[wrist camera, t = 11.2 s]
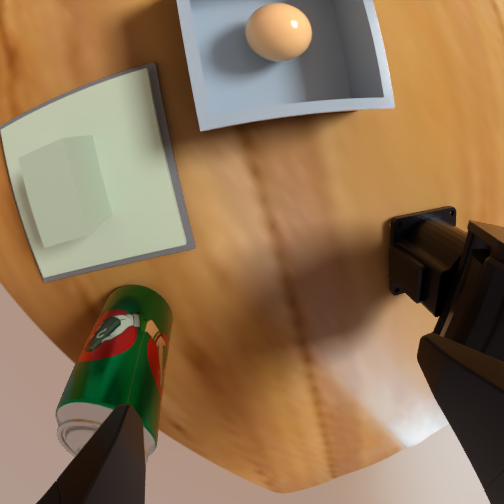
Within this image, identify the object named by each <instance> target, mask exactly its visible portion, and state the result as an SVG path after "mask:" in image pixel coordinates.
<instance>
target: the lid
mask: <svg viewBox="0 0 504 504" xmlns="http://www.w3.org/2000/svg"><path fill="white" fill-rule="evenodd" d="M1 136H2V142H3V147H4V152H5V157H6V162H7V166H8V171H9V175H10V179H11V183H12V187H13V191H14V194H15V198H16V201H17V205H18V208H19V212H20V215H21V218H22V221H23V224H24V227H25V230H26V233H27V236H28V239H29V242H30V245H31V247H32V250H33V253H34V255H35V258H36V260H37V263H38V265H39V268H40V270H41V273H42V275H43V278H45V277H49V276H53V275H57V274H62V273H66V272H70V271H74V270H78V269H82V268H86V267H91V266H95V265H99V264H103V263H107V262H112V261H116V260H120V259H125V258H129V257H133V256H138V255H142V254H146V253H151V252H155V251H160V250H164V249H169V248H173V247H178V246H182V245H186V242H187V241H186V237H185V233H184V229H183V225H182V222H181V218H180V214H179V210H178V206H177V202H176V198H175V193H174V189H173V185H172V181H171V177H170V172H169V168H168V164H167V159H166V155H165V150H164V145H163V141H162V136H161V131H160V127H159V122H158V117H157V112H156V107H155V101H154V96H153V91H152V85H151V80H150V74H149V70H148V69H147V68H145V69H141V70H138V71H135V72H131V73H128V74H125V75H122V76H119V77H116V78H113V79H110V80H107V81H104V82H102V83H99V84H96V85H94V86H91V87H88V88H86V89H83V90H81V91H78V92H76V93H74V94H71V95H69V96H66V97H64V98H62V99H60V100H57V101H55V102H53V103H51V104H49V105H47V106H45V107H42V108H40V109H38V110H36V111H34V112H32V113H30V114H28V115H26V116H25V117H23V118H21V119H19V120H17V121H15V122H13V123H12V124H10V125H8V126H6V127H5V128H3V129H1Z"/></svg>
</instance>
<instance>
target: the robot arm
mask: <svg viewBox="0 0 504 504" xmlns="http://www.w3.org/2000/svg"><path fill="white" fill-rule="evenodd" d="M450 212H451V214H450ZM397 222H399V225H398V226H396V224H397ZM455 226H456V209H455V208H454V207H452V206H447V207H442V208H437V209H432V210H427V211H422V212H417V213H412V214H407V215H402V216H397V217H395V218H393V219H392V221H391V247H390V249H389V278H390V288H389V290H390V292H391V293H392V294H393V295H399V294H402V293H406V294H407V295H408V296H409V297H410V298H411V299H412V300H413V301H414V302H416V303H417V304H418V303H421V304H423V305H424V306H425V307H426V308H427V309H428V310H429V311H430V312H431V313H432V314H433V315H434V316H435V317H438V316H439V319H438V321H437V324H436V326H435V328H434V331H433V332H432V333H429V334H427V335H424V336H422V337H421V339H420V343H419V348H418V353H417V360H418V363H419V365H420V367H421V369H422V371H423V374H424V376H425V378H426V380H427V382H428V384H429V387H430V389H431V391H432V393H433V395H434V397H435V399H436V401H437V403H438V405H439V406H440V408H441V410H442V411H443V413H444V415H445V417H446V418H447V420H448V422H449V424H450V425H451V427H452V429H453V430H454V432H455V434H456V436H457V438H458V440H459V441H460V443H461V445H462V447H463V448H464V451H465V453H466V455H467V456H468V458H469V460H470V462H471V464H472V466H473V468H474V470H475V472H476V474H477V476H478V478H479V480H480V482H481V484H482V486H483V488H484V489H485V490H484V491H485V492H486V495H487V497H488V499H489V501H490V503H491V504H504V227H500V226H495V225H491V224H486V223H481V222H476V221H471V220H469V224H468V227H467V229H468V233H466V232H464V231H463V230H461V229H459V228H457V227H455ZM395 288H397V289H396V290H395ZM145 472H146V465H145V449H144V430H143V422H142V420H141V418H140V417H139V415H138V414H137V412H136V411H135V409H134V408H133V406H132V405H131V404H119V405H117V406H116V407H115V408H114V410H113V411H112V412H111V413H110V415H109V416H108V417H107V418H106V419H105V421H104V422H103V423H102V424H101V426H100V427H99V428H98V429H97V431H96V432H95V433H94V434H93V435H92V437H91V438H90V439H89V440H88V442H87V443H86V444H85V445H84V447H83V448H82V449H81V450H80V451H79V453H78V454H77V455H76V456H75V458H74V459H73V460H72V461H71V463H70V464H69V465H68V466H67V468H66V469H65V470H64V471H63V473H62V474H61V475H60V476H59V478H58V479H57V481H55V483H54V484H53V485H52V486H51V487H50V489H49V490H48V491H47V492H46V493H45V495H44V496H43V497H42V498H41V499H40V500H39V501H38V502H37V503H36V504H145Z"/></svg>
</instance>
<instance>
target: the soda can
mask: <svg viewBox="0 0 504 504" xmlns="http://www.w3.org/2000/svg"><path fill="white" fill-rule="evenodd" d="M172 319H173V318H172V312H171V309H170V307H169V305H168V304H167V302H166V301H165V300H164V299H163V298H162V297H161V296H160V295H159V294H158V293H157V292H155V291H153V290H151V289H149V288H147V287H143V286H139V285H127V286H123V287H120V288H118V289H116V290H115V291H114V292H112V293H111V294H110V296H109V297H108V299H107V301H106V303H105V305H104V307H103V308H102V310H101V312H100V314H99V316H98V318H97V320H96V322H95V324H94V326H93V328H92V330H91V332H90V334H89V336H88V338H87V341H86V343H85V345H84V347H83V349H82V351H81V353H80V355H79V358H78V360H77V362H76V364H75V366H74V369H73V371H72V373H71V375H70V378H69V380H68V383H67V385H66V387H65V390H64V392H63V394H62V397H61V399H60V402H59V404H58V407H57V410H56V419H57V423H58V426H59V427H58V429H57V437H58V440H59V442H60V443H61V445H62V446H63V447H64V448H65V449H66V450H67V451H68V452H69V453H70V454H72V455H73V456H74V457H75V456H76V455H77V454H78V453H79V451H80V450H81V449H82V448H83V447H84V445H85V444H86V443H87V442H88V440H89V439H90V438H91V437H92V435H93V434H94V433H95V432H96V431H97V429H98V428H99V427H100V426H101V424H102V423H103V422H104V421H105V419H106V418H107V417H108V416H109V415H110V413H111V412H112V411H113V410H114V408H115V407H116V406H117V405H119V404H131V405H132V406H133V408H134V409H135V411H136V412H137V414H138V415H139V417H140V418H141V420H142V422H143V430H144V449H145V465H146V463H147V460H148V458H147V457H148V456H149V455H151V454H152V453H153V452H154V451H155V449H156V446H157V438H158V428H159V419H160V409H161V401H162V392H163V384H164V377H165V369H166V362H167V355H168V348H169V341H170V335H171V328H172Z"/></svg>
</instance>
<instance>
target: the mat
mask: <svg viewBox="0 0 504 504" xmlns="http://www.w3.org/2000/svg"><path fill="white" fill-rule="evenodd" d="M145 68H147V69H148V70H149V74H150V80H151V85H152V91H153V96H154V101H155V107H156V112H157V117H158V122H159V127H160V131H161V136H162V141H163V145H164V150H165V155H166V159H167V164H168V168H169V172H170V177H171V181H172V185H173V189H174V193H175V198H176V202H177V206H178V210H179V214H180V218H181V222H182V225H183V229H184V233H185V237H186V241H187V242H186V245H182V246H178V247H173V248H169V249H164V250H160V251H155V252H151V253H146V254H142V255H138V256H133V257H129V258H125V259H120V260H116V261H112V262H107V263H103V264H99V265H95V266H91V267H86V268H82V269H78V270H74V271H70V272H66V273H62V274H57V275H53V276H49V277H45V278H43V275H42V273H41V270H40V268H39V265H38V263H37V260H36V258H35V255H34V253H33V250H32V247H31V245H30V242H29V239H28V236H27V233H26V230H25V227H24V224H23V221H22V218H21V215H20V212H19V208H18V205H17V201H16V198H15V194H14V191H13V187H12V183H11V179H10V175H9V171H8V175H9V179H10V183H11V187H12V191H13V194H14V198H15V201H16V205H17V208H18V212H19V215H20V218H21V221H22V224H23V227H24V230H25V233H26V236H27V239H28V242H29V245H30V248H31V250H32V253H33V256H34V258H35V261H36V263H37V266H38V268H39V271H40V273H41V276H42V278H43V280H44V282H48V281H53V280H57V279H61V278H65V277H70V276H74V275H78V274H83V273H87V272H91V271H96V270H100V269H105V268H109V267H113V266H118V265H122V264H127V263H131V262H136V261H140V260H145V259H149V258H154V257H158V256H163V255H167V254H172V253H177V252H181V251H186V250H190V249H195V247H196V246H195V242H194V238H193V234H192V230H191V226H190V222H189V218H188V214H187V210H186V206H185V201H184V197H183V193H182V189H181V184H180V180H179V175H178V171H177V167H176V162H175V157H174V153H173V148H172V143H171V139H170V134H169V129H168V124H167V119H166V114H165V109H164V104H163V98H162V93H161V88H160V82H159V77H158V71H157V65H156V62H152V63H149V64H145V65H142V66H138V67H135V68H132V69H129V70H125V71H122V72H119V73H116V74H113V75H110V76H108V77H105V78H102V79H99V80H97V81H94V82H91V83H89V84H86V85H84V86H81V87H79V88H76V89H74V90H71V91H69V92H67V93H64V94H62V95H60V96H58V97H55V98H53V99H51V100H49V101H47V102H45V103H43V104H41V105H39V106H36V107H34V108H33V109H31V110H29V111H27V112H25V113H23V114H21V115H19V116H17V117H15V118H14V119H12V120H10V121H8V122H7V123H5V124H3V125H1V126H0V135H1V129H3V128H5V127H6V126H8V125H10V124H12V123H13V122H15V121H17V120H19V119H21V118H23V117H25V116H26V115H28V114H30V113H32V112H34V111H36V110H38V109H40V108H42V107H45V106H47V105H49V104H51V103H53V102H55V101H57V100H60V99H62V98H64V97H66V96H69V95H71V94H74V93H76V92H78V91H81V90H83V89H86V88H88V87H91V86H94V85H96V84H99V83H102V82H104V81H107V80H110V79H113V78H116V77H119V76H122V75H125V74H128V73H131V72H135V71H138V70H141V69H145ZM1 141H2V136H1ZM2 146H3V142H2ZM3 152H4V147H3ZM4 157H5V152H4ZM5 161H6V157H5ZM6 166H7V162H6ZM7 170H8V166H7Z"/></svg>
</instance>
